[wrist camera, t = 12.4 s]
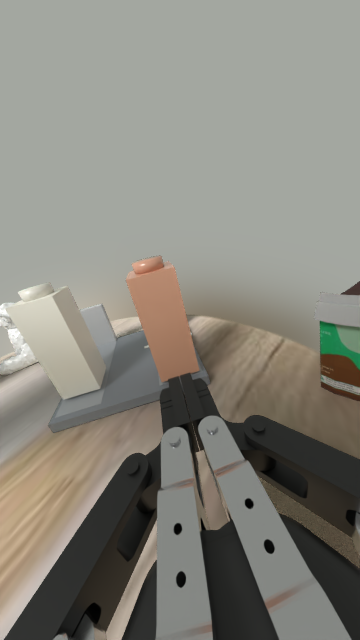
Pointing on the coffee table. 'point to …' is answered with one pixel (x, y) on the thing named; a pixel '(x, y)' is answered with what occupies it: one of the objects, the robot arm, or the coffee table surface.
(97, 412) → the grey holder stand
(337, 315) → the food container
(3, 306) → the sitting furry creature
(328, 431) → the coffee table surface
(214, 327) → the coffee table surface
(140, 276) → the terracotta plug
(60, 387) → the cream plug
